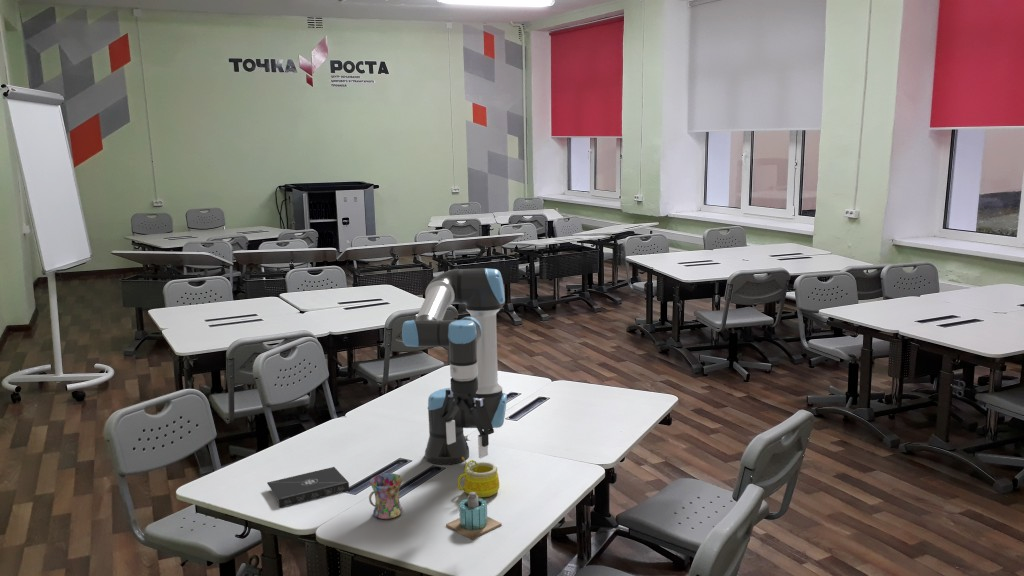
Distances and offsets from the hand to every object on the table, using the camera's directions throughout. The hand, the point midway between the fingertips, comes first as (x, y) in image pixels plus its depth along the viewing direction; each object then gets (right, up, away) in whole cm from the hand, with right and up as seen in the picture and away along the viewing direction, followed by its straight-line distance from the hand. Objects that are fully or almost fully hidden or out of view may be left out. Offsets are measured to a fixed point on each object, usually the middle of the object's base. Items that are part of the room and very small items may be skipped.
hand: (467, 449), depth 214 cm
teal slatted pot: (+2, -21, 0) cm, 21 cm away
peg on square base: (+2, -21, 0) cm, 21 cm away
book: (-51, -19, +26) cm, 60 cm away
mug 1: (-24, -21, +7) cm, 33 cm away
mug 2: (+2, -18, +21) cm, 28 cm away
